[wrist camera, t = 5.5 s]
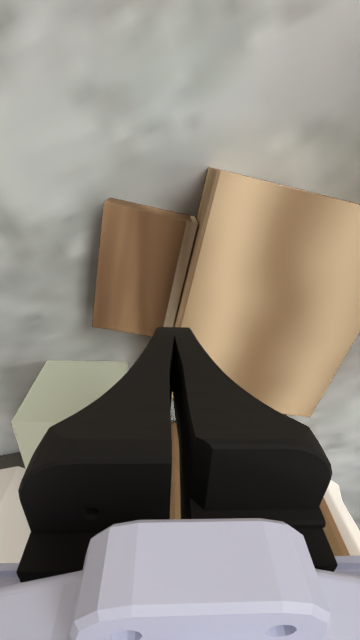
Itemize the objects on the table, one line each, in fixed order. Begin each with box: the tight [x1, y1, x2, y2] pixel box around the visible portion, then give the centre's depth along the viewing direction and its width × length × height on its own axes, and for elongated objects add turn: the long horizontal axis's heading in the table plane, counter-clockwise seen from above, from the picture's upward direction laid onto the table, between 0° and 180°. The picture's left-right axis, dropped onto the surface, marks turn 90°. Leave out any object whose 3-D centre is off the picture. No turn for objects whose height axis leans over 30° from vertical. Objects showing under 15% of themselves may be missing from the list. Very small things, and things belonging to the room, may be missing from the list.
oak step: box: [172, 167, 360, 417], centre depth 19 cm, size 10×13×4 cm
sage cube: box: [11, 361, 128, 469], centre depth 22 cm, size 6×6×6 cm
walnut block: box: [92, 198, 198, 336], centre depth 19 cm, size 2×8×5 cm
